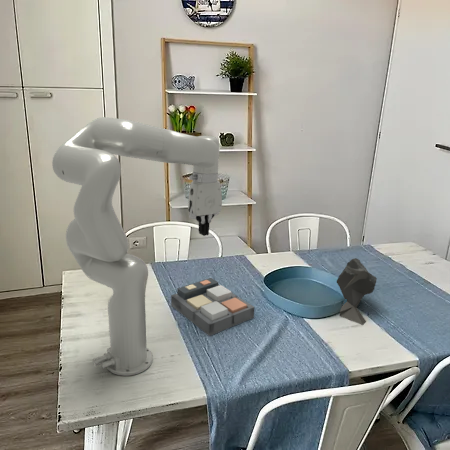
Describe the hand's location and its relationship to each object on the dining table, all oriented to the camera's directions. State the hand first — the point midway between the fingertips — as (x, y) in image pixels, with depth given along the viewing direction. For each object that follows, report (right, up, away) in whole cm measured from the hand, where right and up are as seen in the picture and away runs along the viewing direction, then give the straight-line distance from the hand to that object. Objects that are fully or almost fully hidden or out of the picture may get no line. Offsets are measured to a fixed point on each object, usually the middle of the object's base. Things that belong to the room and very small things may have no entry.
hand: (203, 234), depth 138 cm
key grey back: (+5, -22, +9) cm, 24 cm away
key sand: (-2, -25, +5) cm, 25 cm away
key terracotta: (+10, -26, +4) cm, 28 cm away
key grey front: (+3, -26, -1) cm, 26 cm away
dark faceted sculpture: (+51, -26, +12) cm, 58 cm away
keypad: (+2, -26, +7) cm, 27 cm away
